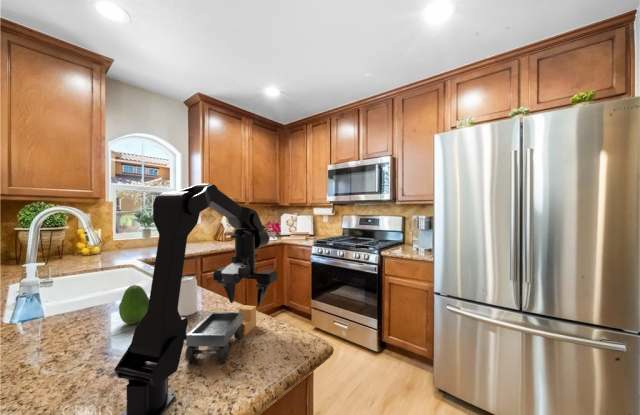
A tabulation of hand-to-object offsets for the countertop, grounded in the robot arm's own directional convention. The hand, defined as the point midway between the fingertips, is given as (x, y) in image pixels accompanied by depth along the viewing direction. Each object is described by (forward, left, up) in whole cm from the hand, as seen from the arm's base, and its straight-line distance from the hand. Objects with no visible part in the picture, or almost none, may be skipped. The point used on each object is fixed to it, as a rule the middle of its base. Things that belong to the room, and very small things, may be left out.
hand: (245, 304), depth 77 cm
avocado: (+3, +36, -8) cm, 37 cm away
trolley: (-11, +4, -7) cm, 14 cm away
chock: (0, 0, -8) cm, 8 cm away
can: (+11, +24, -8) cm, 27 cm away
